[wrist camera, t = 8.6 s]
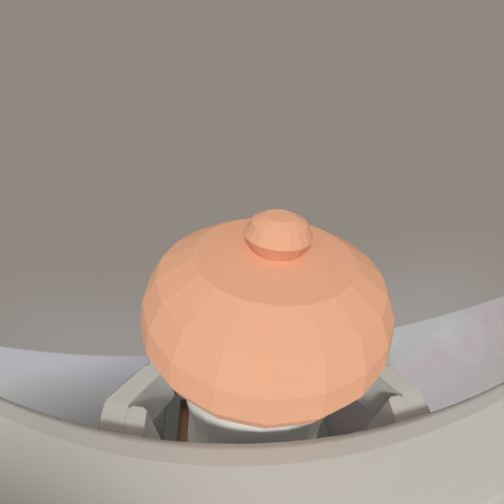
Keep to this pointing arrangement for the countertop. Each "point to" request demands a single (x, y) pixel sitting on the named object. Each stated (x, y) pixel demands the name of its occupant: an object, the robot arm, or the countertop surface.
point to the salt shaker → (266, 327)
